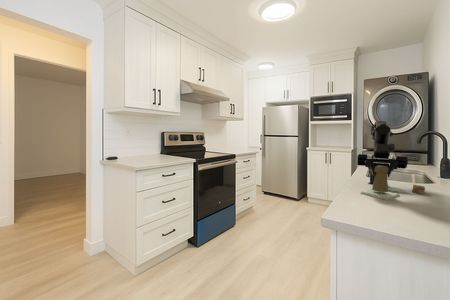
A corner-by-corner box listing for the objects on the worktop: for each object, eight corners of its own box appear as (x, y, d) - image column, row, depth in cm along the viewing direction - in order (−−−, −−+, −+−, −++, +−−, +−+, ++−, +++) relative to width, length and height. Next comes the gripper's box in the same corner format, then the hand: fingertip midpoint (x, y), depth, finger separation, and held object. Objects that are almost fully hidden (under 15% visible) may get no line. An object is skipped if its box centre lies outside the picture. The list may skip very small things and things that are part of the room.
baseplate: (360, 193, 102) (360, 191, 102) (373, 190, 108) (373, 188, 107) (386, 200, 93) (386, 197, 93) (399, 196, 98) (399, 193, 98)
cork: (391, 192, 97) (393, 166, 96) (376, 191, 98) (377, 166, 97) (383, 188, 103) (385, 164, 102) (369, 188, 104) (370, 164, 103)
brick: (412, 192, 103) (413, 186, 103) (412, 190, 106) (413, 184, 106) (423, 194, 101) (424, 188, 100) (423, 192, 104) (424, 186, 104)
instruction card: (383, 189, 110) (383, 188, 110) (389, 186, 116) (389, 185, 116) (415, 194, 101) (415, 193, 101) (419, 191, 107) (419, 190, 107)
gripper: (358, 137, 106) (356, 163, 98) (409, 137, 97) (411, 166, 88) (358, 152, 114) (356, 177, 105) (405, 154, 104) (407, 182, 96)
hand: (381, 176), depth 98 cm, fingers closed on cork, 5 cm apart
